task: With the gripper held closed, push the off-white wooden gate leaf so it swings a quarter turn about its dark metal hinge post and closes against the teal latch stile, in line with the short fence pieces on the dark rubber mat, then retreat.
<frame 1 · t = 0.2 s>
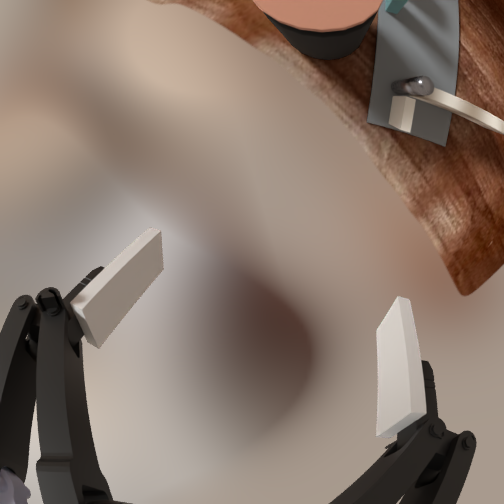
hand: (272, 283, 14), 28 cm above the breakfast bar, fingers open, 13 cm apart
mat: (418, 51, 23), on the breakfast bar
gate: (461, 108, 22), point 5 cm above the breakfast bar, hinge at 0.0°
hinge post: (397, 87, 27), resting on mat
latch stile: (390, 6, 21), resting on mat
coffee jar: (323, 27, 26), on the breakfast bar
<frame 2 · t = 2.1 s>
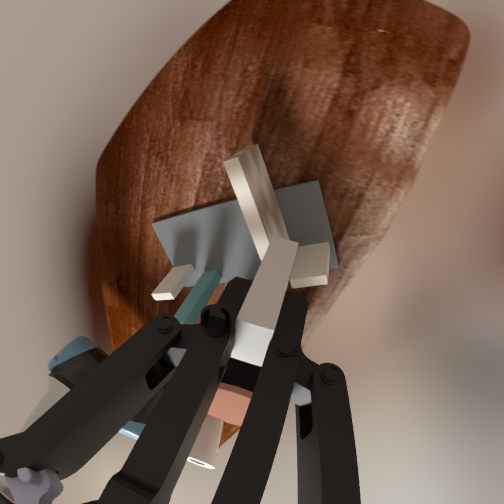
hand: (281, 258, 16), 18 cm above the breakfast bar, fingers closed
mat: (239, 241, 38), on the breakfast bar
fence: (169, 356, 61), resting on mat
gate: (262, 208, 29), point 5 cm above the breakfast bar, hinge at 0.0°
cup: (217, 414, 75), on the breakfast bar
latch stile: (214, 272, 42), resting on mat
coffee jar: (266, 311, 44), on the breakfast bar
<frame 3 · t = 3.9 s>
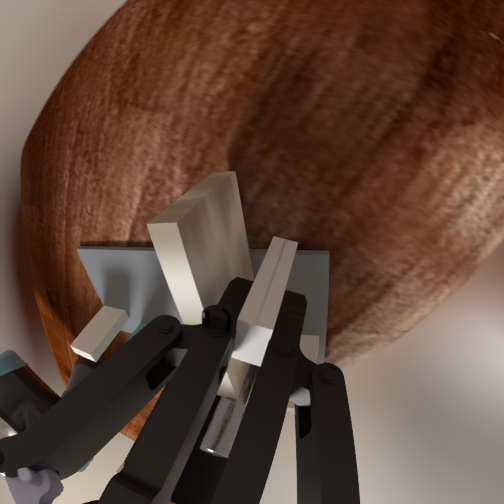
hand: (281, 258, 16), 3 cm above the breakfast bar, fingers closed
mat: (188, 303, 25), on the breakfast bar
fence: (107, 379, 47), resting on mat
gate: (223, 294, 17), point 4 cm above the breakfast bar, hinge at 0.3°, touching gripper
hinge post: (259, 330, 24), resting on mat
coffee jar: (217, 378, 32), on the breakfast bar
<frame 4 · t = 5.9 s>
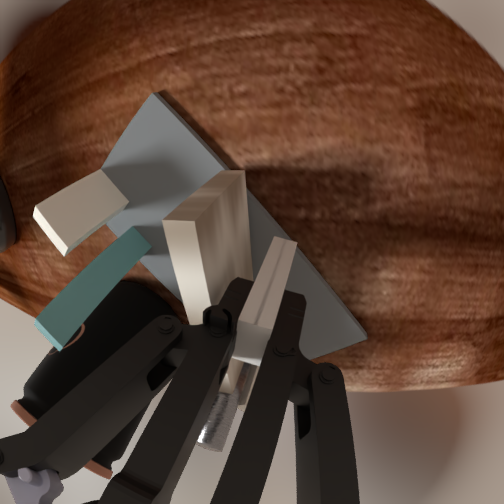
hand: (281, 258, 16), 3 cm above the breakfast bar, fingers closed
mat: (220, 265, 22), on the breakfast bar
gate: (225, 291, 17), point 5 cm above the breakfast bar, hinge at 51.4°, touching gripper
hinge post: (252, 326, 25), resting on mat
latch stile: (141, 237, 22), resting on mat
coffee jar: (144, 313, 29), on the breakfast bar
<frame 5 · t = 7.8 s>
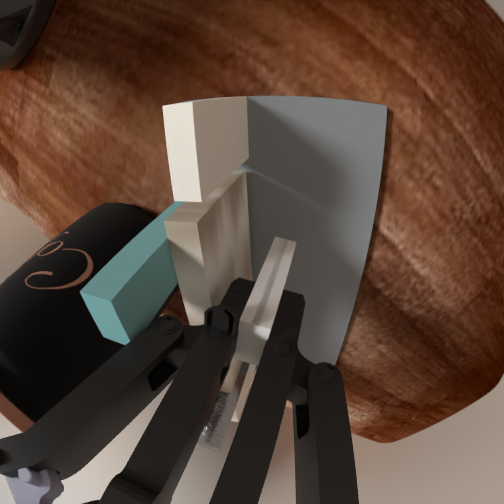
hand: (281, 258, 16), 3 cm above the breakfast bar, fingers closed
mat: (279, 272, 21), on the breakfast bar
fence: (23, 9, 11), resting on mat
gate: (225, 291, 17), point 5 cm above the breakfast bar, hinge at 91.0°, touching gripper
hinge post: (250, 325, 25), resting on mat
latch stile: (218, 193, 18), resting on mat
coffee jar: (135, 249, 24), on the breakfast bar
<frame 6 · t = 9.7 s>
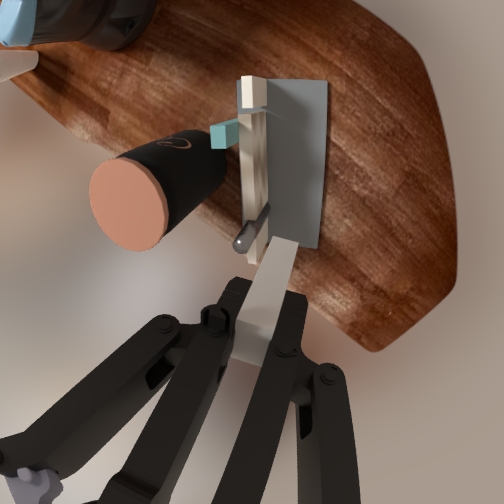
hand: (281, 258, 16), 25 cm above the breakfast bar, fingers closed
mat: (281, 166, 37), on the breakfast bar
fence: (120, 13, 28), resting on mat
gate: (255, 162, 34), point 4 cm above the breakfast bar, hinge at 91.0°
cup: (34, 60, 35), on the breakfast bar
hinge post: (264, 206, 42), resting on mat
latch stile: (251, 124, 35), resting on mat
coffee jar: (197, 161, 41), on the breakfast bar
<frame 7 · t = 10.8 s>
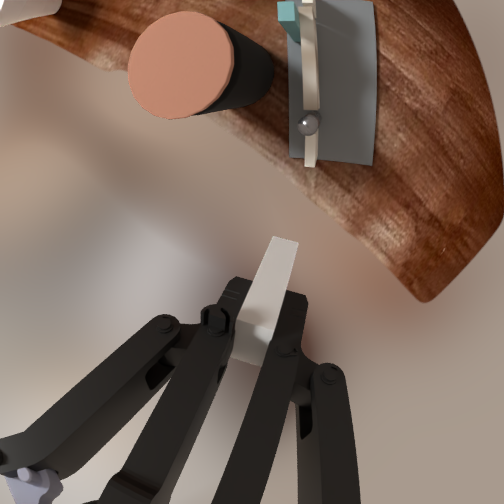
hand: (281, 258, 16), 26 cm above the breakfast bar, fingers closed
mat: (332, 75, 30), on the breakfast bar
gate: (310, 59, 26), point 4 cm above the breakfast bar, hinge at 91.0°
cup: (56, 5, 28), on the breakfast bar
hinge post: (314, 117, 34), resting on mat
latch stile: (300, 35, 28), resting on mat
coffee jar: (239, 73, 33), on the breakfast bar
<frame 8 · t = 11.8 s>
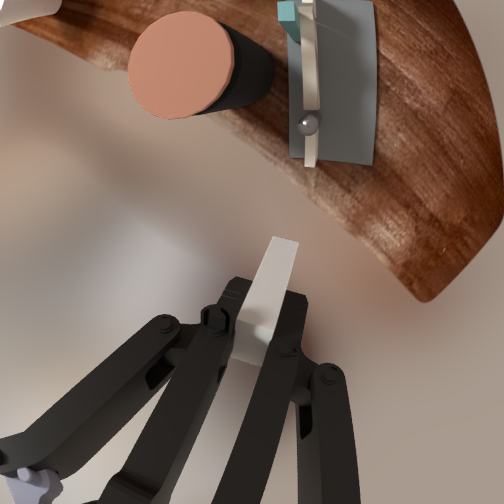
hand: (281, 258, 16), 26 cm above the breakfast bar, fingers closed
mat: (332, 75, 30), on the breakfast bar
gate: (310, 59, 26), point 4 cm above the breakfast bar, hinge at 91.0°
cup: (56, 5, 28), on the breakfast bar
hinge post: (314, 117, 34), resting on mat
latch stile: (300, 35, 28), resting on mat
coffee jar: (239, 73, 33), on the breakfast bar
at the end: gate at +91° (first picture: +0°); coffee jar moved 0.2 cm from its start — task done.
